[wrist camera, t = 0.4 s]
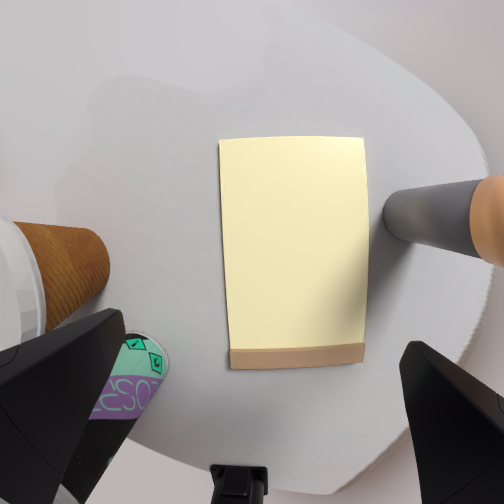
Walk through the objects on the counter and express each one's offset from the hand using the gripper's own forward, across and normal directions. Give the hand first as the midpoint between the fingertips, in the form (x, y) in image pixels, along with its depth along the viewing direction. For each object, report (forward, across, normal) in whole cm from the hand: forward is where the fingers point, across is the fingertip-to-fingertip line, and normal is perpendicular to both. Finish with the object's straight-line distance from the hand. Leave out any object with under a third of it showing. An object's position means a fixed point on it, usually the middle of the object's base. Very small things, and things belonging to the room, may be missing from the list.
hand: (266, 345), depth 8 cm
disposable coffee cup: (+13, +17, +5) cm, 22 cm away
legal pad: (+14, -2, +2) cm, 14 cm away
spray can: (+11, +10, +13) cm, 20 cm away
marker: (+15, -11, -2) cm, 18 cm away
